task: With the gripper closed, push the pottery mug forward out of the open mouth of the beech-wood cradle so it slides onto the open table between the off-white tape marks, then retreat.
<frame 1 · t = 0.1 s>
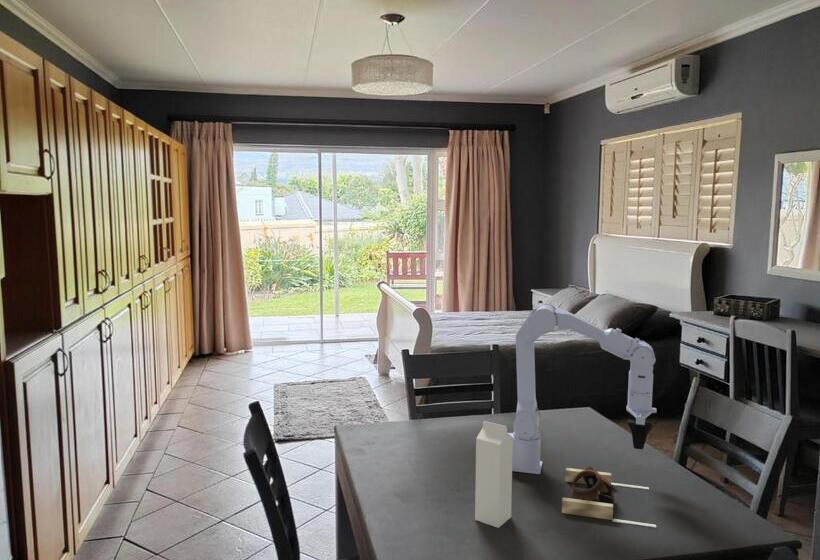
hand: (637, 442, 154), 10 cm above the table, fingers open, 7 cm apart
milk: (493, 519, 136), on the table
cradle: (587, 498, 146), on the table
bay: (631, 503, 143), on the table
pottery mug: (592, 500, 146), on the table
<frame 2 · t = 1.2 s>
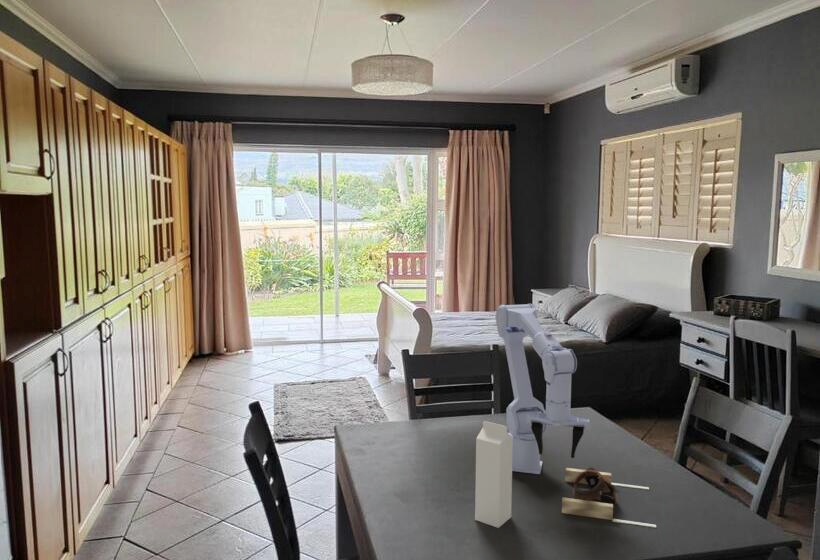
hand: (556, 454, 147), 10 cm above the table, fingers open, 7 cm apart
nothing on the table moved.
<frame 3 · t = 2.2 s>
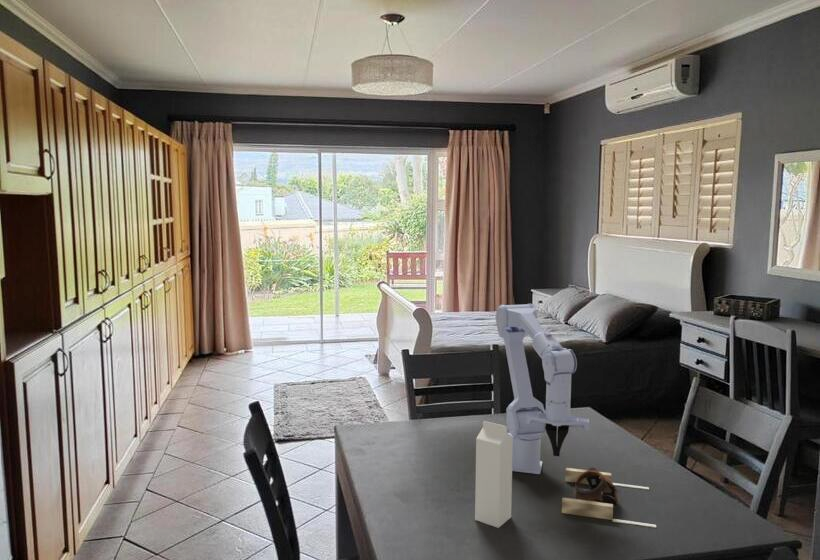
hand: (556, 454, 147), 10 cm above the table, fingers closed
nothing on the table moved.
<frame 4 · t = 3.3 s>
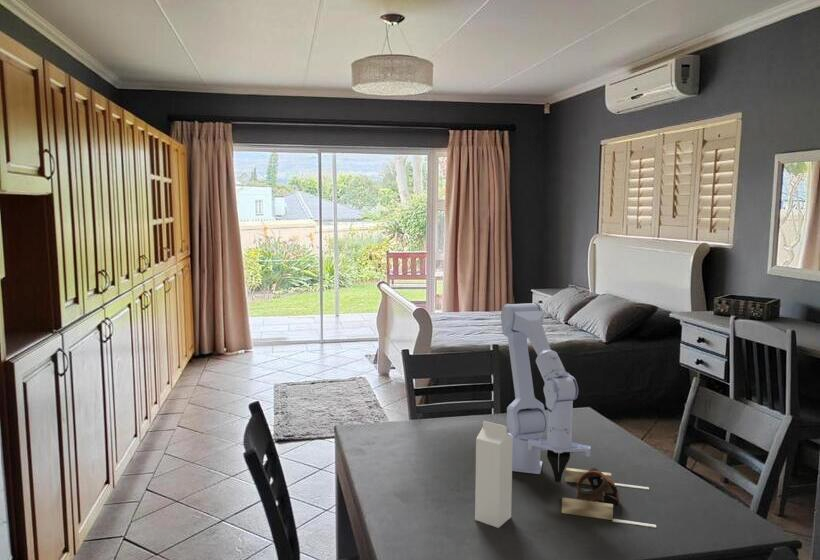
hand: (557, 480, 148), 3 cm above the table, fingers closed
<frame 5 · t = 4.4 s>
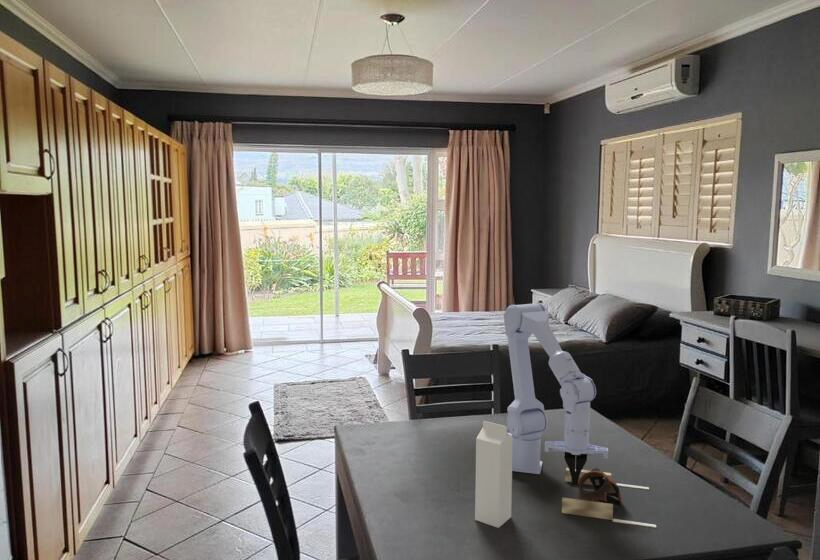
hand: (574, 482, 147), 3 cm above the table, fingers closed
pottery mug: (599, 501, 145), on the table, touching gripper
everything else where it was.
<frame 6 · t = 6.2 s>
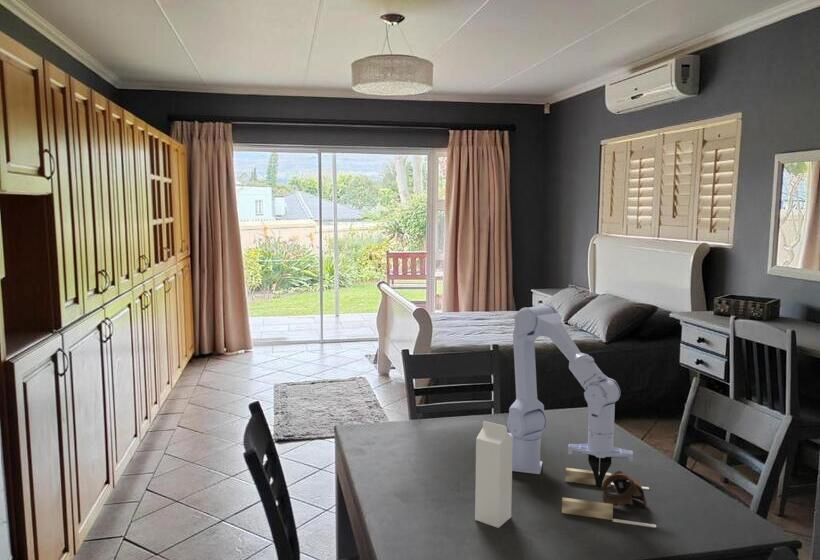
hand: (598, 485, 145), 3 cm above the table, fingers closed
pottery mug: (623, 504, 143), on the table, touching gripper
everything else where it was.
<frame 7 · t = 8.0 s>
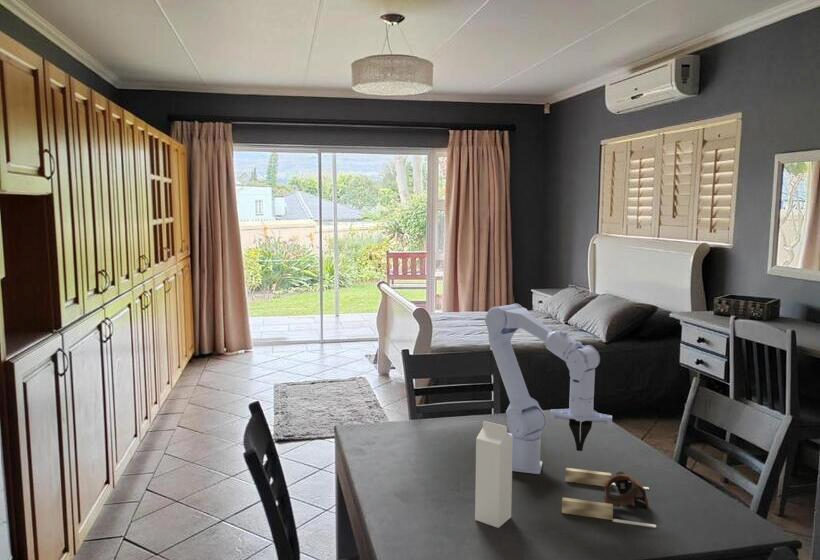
hand: (579, 449, 151), 10 cm above the table, fingers closed
pottery mug: (625, 505, 143), on the table
everything else where it was.
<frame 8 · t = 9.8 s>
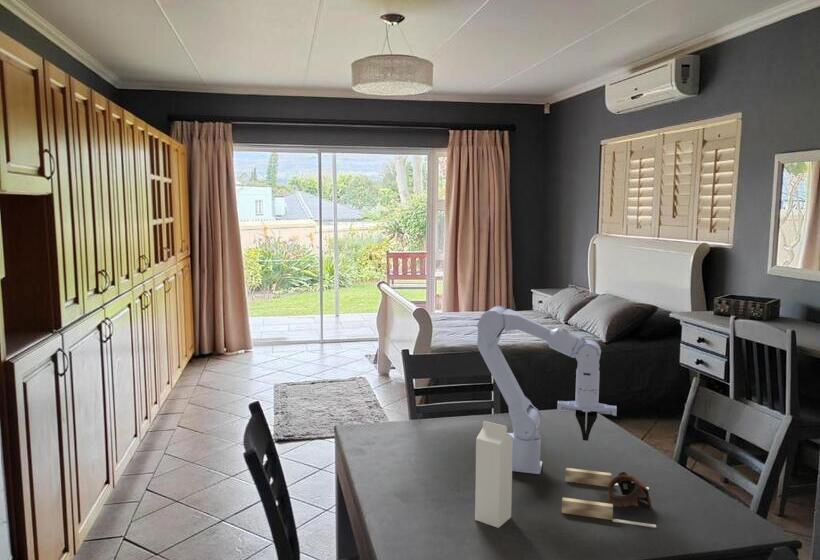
hand: (585, 439, 157), 10 cm above the table, fingers closed
nothing on the table moved.
at the end: pottery mug inside the target area (1.4 cm from its centre), on the table; pottery mug moved 8.2 cm from its start; pottery mug touching table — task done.
